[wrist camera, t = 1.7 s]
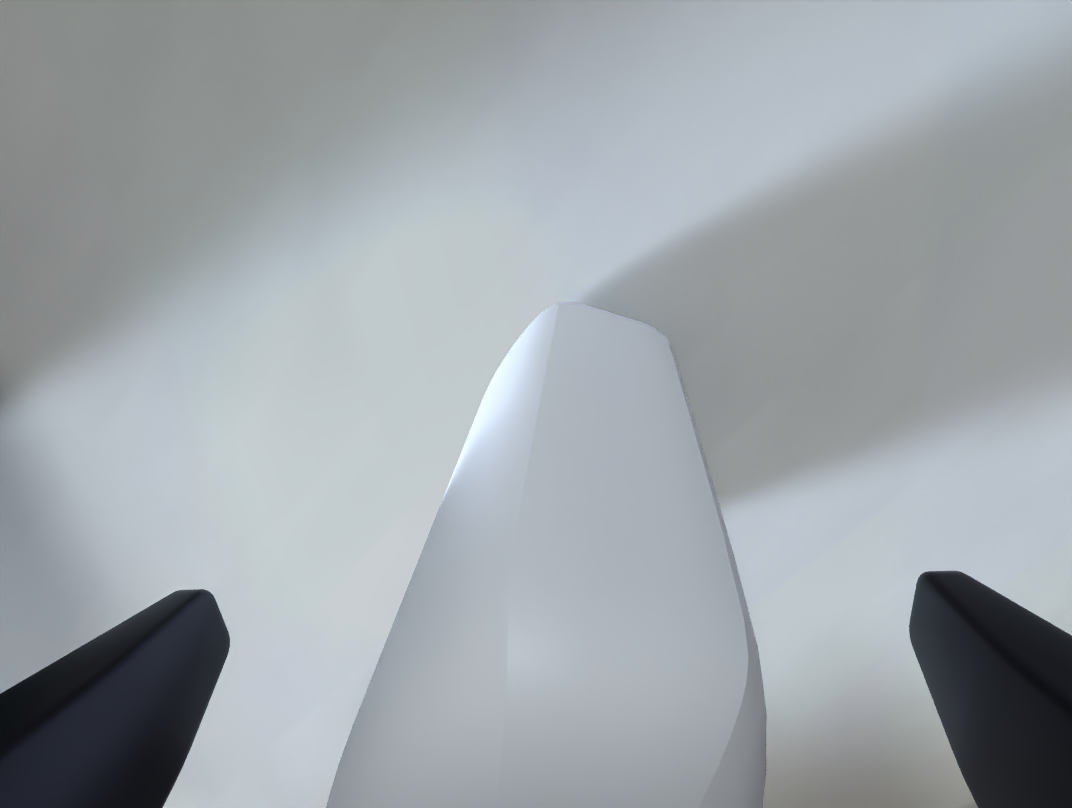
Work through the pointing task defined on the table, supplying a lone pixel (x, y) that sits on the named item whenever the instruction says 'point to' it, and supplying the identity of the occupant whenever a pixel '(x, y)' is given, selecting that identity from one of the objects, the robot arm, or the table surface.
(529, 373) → the eye dropper bottle
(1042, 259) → the table surface
